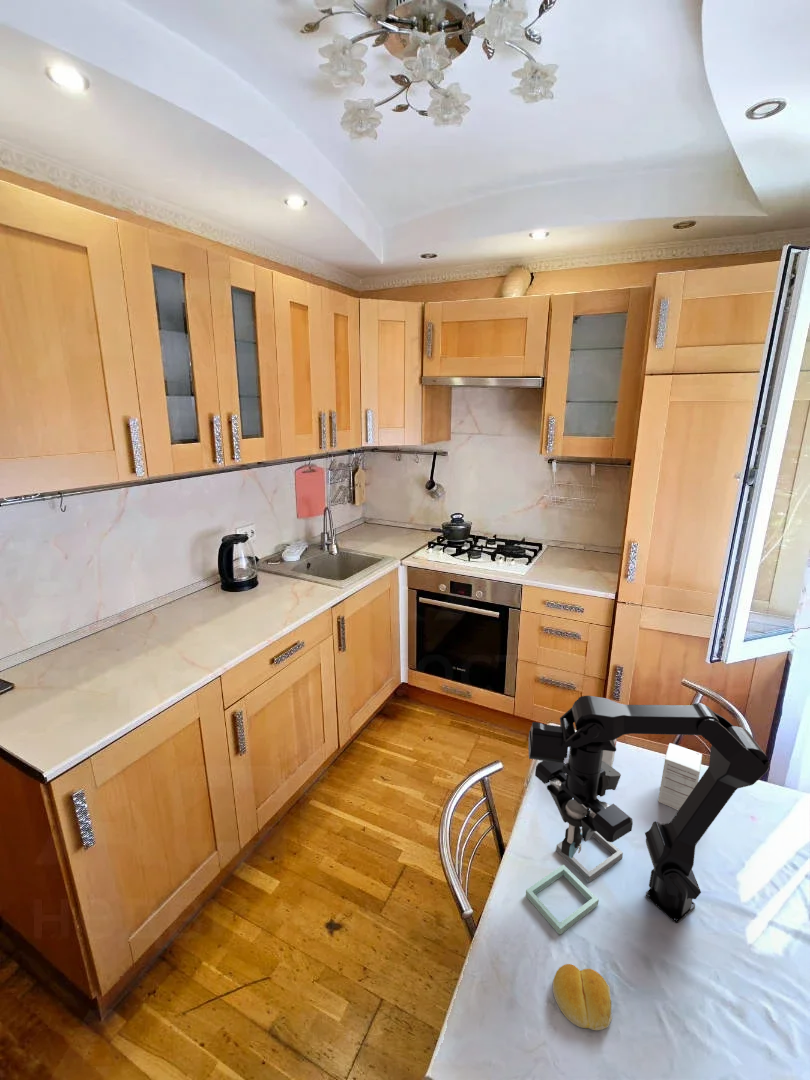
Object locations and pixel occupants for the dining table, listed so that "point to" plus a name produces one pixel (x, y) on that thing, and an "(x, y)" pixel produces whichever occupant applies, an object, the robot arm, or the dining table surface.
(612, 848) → the grey rectangular frame
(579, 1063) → the dining table surface
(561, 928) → the mint green frame
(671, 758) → the supplement box
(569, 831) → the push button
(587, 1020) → the bread roll
